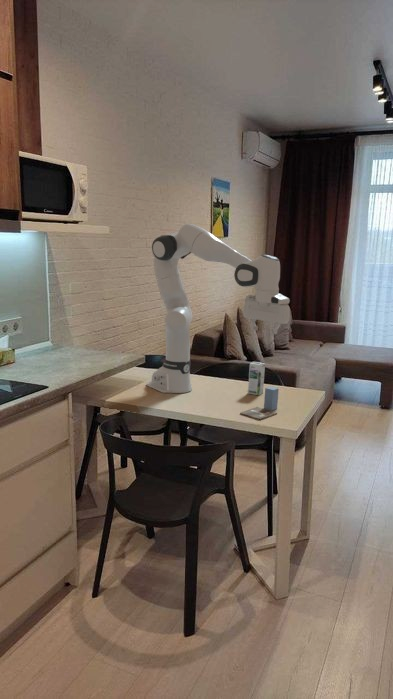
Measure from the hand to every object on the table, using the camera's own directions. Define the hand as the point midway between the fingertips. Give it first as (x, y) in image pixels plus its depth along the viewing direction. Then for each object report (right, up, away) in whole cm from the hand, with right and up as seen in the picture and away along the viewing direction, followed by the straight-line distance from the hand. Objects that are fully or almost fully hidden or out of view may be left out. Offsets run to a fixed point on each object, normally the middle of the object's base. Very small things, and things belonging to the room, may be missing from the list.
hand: (264, 332), depth 210 cm
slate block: (+4, -32, +15) cm, 36 cm away
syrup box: (+1, -28, +37) cm, 46 cm away
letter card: (-2, -33, +7) cm, 34 cm away
